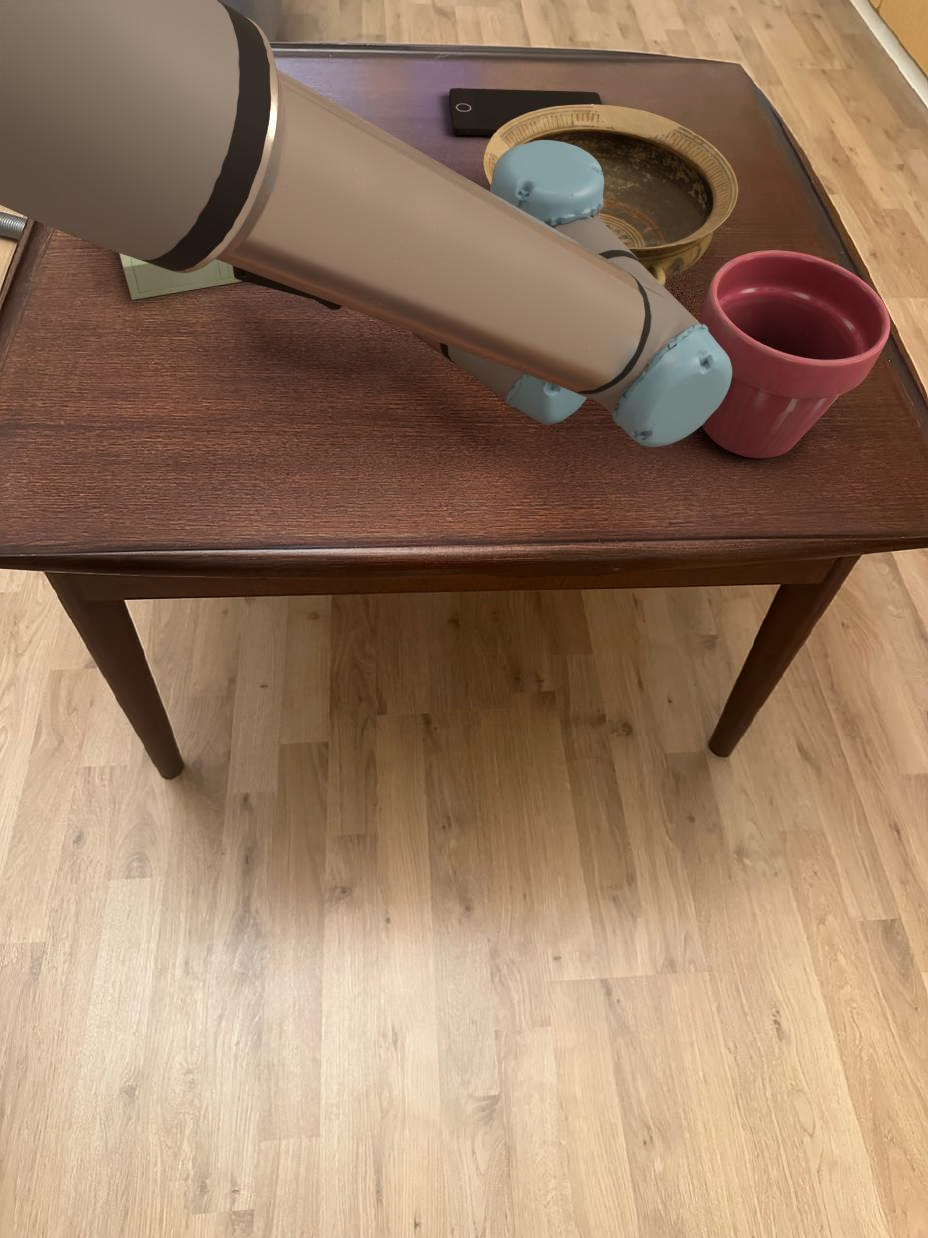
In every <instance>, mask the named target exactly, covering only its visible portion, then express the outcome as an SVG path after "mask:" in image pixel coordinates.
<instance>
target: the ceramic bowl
mask: <svg viewBox="0 0 928 1238" xmlns="http://www.w3.org/2000/svg"><path fill="white" fill-rule="evenodd" d="M538 140H552V141H559V142H564V143H568V144H571V145H574V146H577V147H579V148H581V149H583V150H585V151H586V152H588V153H589V154H590V155H592V156H593V157H594V158H595V159H596V160H597V161H598V163H599V165H600V166H601V171H602V172H603V177H604V189H603V199H604V200H603V202H604V203H603V207H602V208H601V211H600V214H599V215H600V219H601V221H602V222H603V223H604V224H605V225H606V226H607V227H608V228H609V229H610V230H611V231H612V232H613V233H614V234H615V235H616V236H617V237H618V238H619V239H620V240H621V242H622V243H623V244H624V245H625V246H626V247H627V248H628V249H629V250H630V251H631V252H632V253H633V254H634V255H635V256H636V257H637V258H638V260H639V261H640V262H641V263H642V265H643V266H644V267H645V268H646V269H647V270H648V271H649V272H650V273H651V274H652V276H653V277H654V278H655V279H656V280H657V281H658V282H659V283H660V284H661V285H662V286H663V287H664V288H665V286H666V282H667V281H669V280H670V279H673V278H675V277H677V276H678V275H680V274H682V273H683V272H685V271H688V269H690V268H691V267H692V266H693V265H694V264H695V263H696V262H697V261H699V260H700V259H701V258H702V256H703V255H704V253H706V251H707V249H708V248H709V246H710V244H711V242H712V239H713V237H714V235H715V231H716V230H717V229H718V228H719V227H721V226H722V225H723V224H724V223H725V221H726V220H727V219H728V218H729V217H730V216H731V214H732V212H733V210H734V209H735V207H736V204H737V201H738V195H739V183H738V180H737V176H736V173H735V172H734V169H733V167H732V165H731V164H730V162H729V161H728V160H727V158H726V157H725V156H724V155H723V154H722V152H721V151H719V150H718V149H717V148H716V147H715V146H714V145H713V144H712V143H710V142H709V141H708V140H706V139H705V138H704V137H702V136H701V135H699V134H698V133H695V132H694V131H693V130H691V129H689V128H687V127H685V126H683V125H681V124H679V123H677V122H676V121H674V120H672V119H670V118H667V117H664V116H661V115H659V114H656V113H652V112H650V111H646V110H642V109H638V108H631V107H625V106H620V105H619V106H618V105H608V104H602V105H566V106H555V107H549V108H544V109H540V110H536V111H532V112H529V113H526V114H524V115H521V116H519V117H517V118H515V119H513V120H511V121H509V122H508V123H506V124H505V125H503V126H502V127H501V128H500V129H498V130H497V132H496V133H494V135H493V136H492V135H491V138H490V139H489V140H488V143H487V145H486V148H485V150H484V153H483V160H482V161H483V162H482V164H483V172H484V175H485V177H486V181H487V183H488V184H489V186H490V187H491V181H492V175H493V170H494V167H495V164H496V163H497V161H498V159H499V158H500V157H501V156H502V155H503V154H504V153H505V152H506V151H507V150H509V149H511V148H512V147H514V146H516V145H519V144H526V143H530V142H533V141H538Z"/></svg>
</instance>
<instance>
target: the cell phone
mask: <svg viewBox="0 0 928 1238" xmlns="http://www.w3.org/2000/svg"><path fill="white" fill-rule="evenodd" d="M448 100H449V109H450V117H451V125H452V132H453V134H454V135H456V136H491V137H492V136H493V135H494V133H496V132H497V130H498V129H500V128H501V127H502V126H503V125H505V124H506V123H508V122H509V121H511V120H513V119H515V118H517V117H519V116H521V115H524V114H526V113H529V112H532V111H536V110H540V109H544V108H549V107H555V106H566V105H603V104H602V100H601V95H600V94H599V93H598V92H595V91H581V90H580V91H579V90H578V91H577V90H576V91H575V90H573V91H572V90H540V89H538V90H537V89H534V90H533V89H505V88H504V89H503V88H472V87H471V88H469V87H451V88H450V89H449V92H448Z"/></svg>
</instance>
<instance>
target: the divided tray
mask: <svg viewBox="0 0 928 1238" xmlns="http://www.w3.org/2000/svg"><path fill="white" fill-rule="evenodd" d="M118 255H119V259H120V262H121V265H122V269H123V272H124V276H125V280H126V283H127V287H128V291H129V295H130V298H131V301H134V300H140V299H146V298H152V297H158V296H165V295H169V294H175V293H176V294H177V293H182V292H188V291H194V290H200V289H205V288H212V287H218V286H224V285H228V284H229V285H230V284H235V283H241V282H243V281H241V280H238V279H236V278H235V277H234V273H233V268H232V265H230V264H228V263H225V262H222V261H219V260H217V259H215V260H213V261H212V262H210V263H209V264H208V265H206V266H205V267H203V268H201V269H199V270H196V271H194V272H189V273H176V272H173V271H170V270H167V269H164V268H161V267H158V266H156V265H153V264H150V263H147V262H144V261H141V260H138V259H135V258H133V257H129V256H126V255H123V254H120V253H118Z"/></svg>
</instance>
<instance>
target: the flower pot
mask: <svg viewBox="0 0 928 1238" xmlns="http://www.w3.org/2000/svg"><path fill="white" fill-rule="evenodd" d="M698 322H699V323H700V324H701V325H702V324H704V325H706V326H707V327H708V329H709V333H710V334H711V335H712V337H713V338H714V339H715V340H716V342H717V343H718V344H719V345H720V346H721V348H722V349H723V350H724V351H725V352H726V354H727V355H728V357H729V359H730V362H731V366H732V378H731V383H730V386H729V389H728V392H727V394H726V396H725V398H724V399H723V401H722V403H721V404H720V406H719V407H718V408H717V409H716V410H715V411H714V412H713V413H712V415H711V416H710V417H709V418H708V419H707V420H706V421H705V423H704V424H703V425H701V427H702V428H703V431H704V432H705V433H706V434H707V436H708V437H709V438H710V439H711V440H712V441H713V442H714V443H716V444H717V445H718V446H719V447H721V448H723V449H724V450H726V451H728V452H731V453H732V454H736V455H738V456H742V457H745V458H750V459H771V458H777V457H779V456H782V455H784V454H786V453H787V452H789V451H791V450H792V448H794V447H795V445H796V444H797V443H798V442H799V441H800V440H801V439H802V438H803V437H804V435H806V433H807V432H809V430H810V429H811V428H812V427H813V426H814V425H815V424H816V423H817V422H818V421H819V419H820V418H821V417H823V415H824V414H825V413H826V412H827V410H829V408H830V407H831V406H832V405H833V404H834V402H836V400H837V399H838V398H839V396H841V395H843V394H847V393H848V392H851V391H852V390H854V389H856V387H858V386H860V385H861V384H862V383H863V381H864V380H865V379H866V378H867V377H868V375H869V374H870V372H871V371H872V369H873V367H874V365H875V364H876V362H877V360H878V358H879V356H880V354H881V353H882V351H883V350H884V347H885V345H886V344H887V341H888V339H889V336H890V333H891V332H890V330H891V318H890V315H889V312H888V308H887V307H886V305H885V303H884V301H883V300H882V299H881V297H880V296H879V295H878V293H877V292H876V291H875V290H874V289H873V288H872V287H871V286H870V285H869V284H868V283H867V282H865V281H864V280H862V278H860V277H859V276H857V275H856V274H854V273H853V272H851V271H849V270H848V269H846V268H844V267H842V266H840V265H839V264H836V263H834V262H831V261H830V260H826V259H823V258H820V257H818V256H814V255H811V254H807V253H802V252H798V251H791V250H781V249H776V250H774V249H773V250H772V249H771V250H769V249H768V250H759V251H751V252H747V253H745V254H742V255H739V256H736V257H734V258H733V259H731V260H729V261H727V262H725V263H724V264H723V265H722V266H721V267H719V269H718V270H717V271H716V272H715V273H714V275H713V276H712V279H711V281H710V283H709V287H708V289H707V291H706V294H705V297H704V300H703V303H702V306H701V309H700V314H699V317H698Z"/></svg>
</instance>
